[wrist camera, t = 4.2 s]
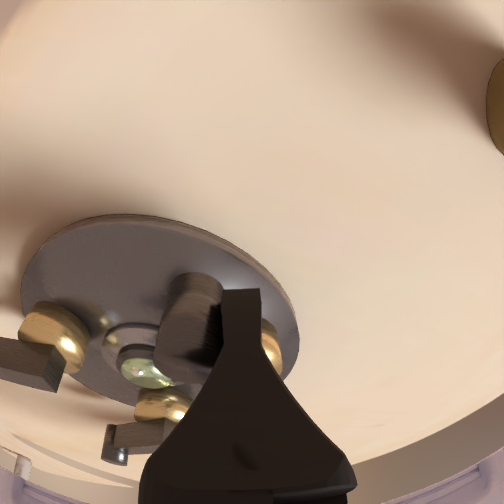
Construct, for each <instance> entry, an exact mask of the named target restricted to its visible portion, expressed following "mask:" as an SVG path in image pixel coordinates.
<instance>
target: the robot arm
mask: <svg viewBox="0 0 504 504" xmlns="http://www.w3.org/2000/svg"><path fill="white" fill-rule="evenodd" d="M221 312H222V325H223V338H224V345H223V347H222V349H221V352H220V354H219V356H218V358H217V361H216V363H215V365H214V367H213V369H212V371H211V372H210V374H209V376H208V378H207V380H206V382H205V383H204V385H203V387H202V388H201V390H200V392H199V393H198V395H197V397H196V398H195V400H194V401H193V403H192V405H191V406H190V408H189V409H188V410H187V412H186V413H185V415H184V416H183V417H182V419H181V420H180V421H179V423H178V424H177V425H176V427H175V428H174V429H173V431H172V432H171V433H170V434H169V436H168V437H167V438H166V439H165V440H164V442H163V443H162V444H161V445H160V446H159V447H158V448H157V449H156V451H155V452H154V453H153V454H152V455H151V456H150V457H149V458H148V460H147V462H146V464H145V467H144V469H143V472H142V475H141V479H140V484H139V496H138V504H347V502H348V501H347V495H346V493H348V492H350V491H352V490H353V489H354V488H356V486H357V480H356V477H355V474H354V471H353V469H352V467H351V465H350V463H349V461H348V459H347V457H346V455H345V454H344V453H343V451H342V450H340V449H339V448H338V447H337V446H336V445H335V444H334V443H333V442H332V441H331V440H330V439H329V438H328V437H327V436H326V435H325V434H324V433H323V432H322V430H321V429H320V428H319V427H318V426H317V425H316V424H315V423H314V422H313V420H312V419H311V418H310V417H309V416H308V414H307V413H306V412H305V411H304V409H303V408H302V407H301V406H300V404H299V403H298V402H297V401H296V399H295V398H294V397H293V395H292V394H291V393H290V391H289V390H288V388H287V387H286V385H285V384H284V382H283V381H282V379H281V378H280V376H279V375H278V373H277V371H276V370H275V368H274V366H273V365H272V363H271V361H270V359H269V358H268V356H267V354H266V352H265V350H264V348H263V346H262V301H261V294H260V288H247V289H224V290H223V291H222V300H221ZM0 504H88V503H84V502H81V501H78V500H75V499H72V498H69V497H66V496H63V495H60V494H58V493H55V492H53V491H50V490H48V489H45V488H43V487H41V486H39V485H36V484H34V483H32V482H29V481H27V480H25V479H23V478H22V477H20V476H18V475H16V474H14V473H12V472H10V471H8V470H6V469H4V468H2V467H1V466H0ZM380 504H504V447H502V448H501V449H499V450H497V451H496V452H494V453H493V454H491V455H489V456H488V457H486V458H484V459H482V460H481V461H479V462H478V463H477V464H474V465H473V466H471V467H469V468H467V469H465V470H463V471H461V472H459V473H457V474H456V475H453V476H451V477H449V478H447V479H445V480H443V481H440V482H438V483H436V484H433V485H431V486H429V487H426V488H424V489H421V490H419V491H416V492H413V493H411V494H408V495H405V496H402V497H400V498H396V499H393V500H390V501H387V502H384V503H380Z"/></svg>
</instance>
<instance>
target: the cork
mask: <svg viewBox="0 0 504 504" xmlns="http://www.w3.org/2000/svg"><path fill="white" fill-rule="evenodd" d="M486 108H487V121H488V126H489V130H490V135H491V137H492V139H493V141H494V143H495V145H496V147H497V149H498V150H499V151H500V152H501V153H502V154H503V155H504V59H502V60H501V61H500V62H499V63H498V65H497V66H496V67H495V68H494V70H493V73H492V75H491V78H490V81H489V83H488V91H487V98H486Z"/></svg>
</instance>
